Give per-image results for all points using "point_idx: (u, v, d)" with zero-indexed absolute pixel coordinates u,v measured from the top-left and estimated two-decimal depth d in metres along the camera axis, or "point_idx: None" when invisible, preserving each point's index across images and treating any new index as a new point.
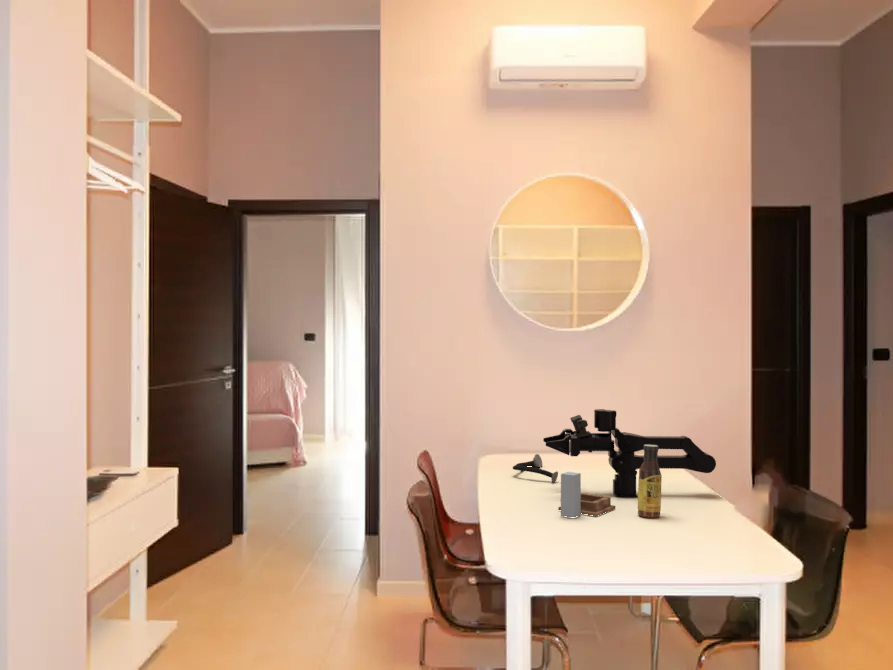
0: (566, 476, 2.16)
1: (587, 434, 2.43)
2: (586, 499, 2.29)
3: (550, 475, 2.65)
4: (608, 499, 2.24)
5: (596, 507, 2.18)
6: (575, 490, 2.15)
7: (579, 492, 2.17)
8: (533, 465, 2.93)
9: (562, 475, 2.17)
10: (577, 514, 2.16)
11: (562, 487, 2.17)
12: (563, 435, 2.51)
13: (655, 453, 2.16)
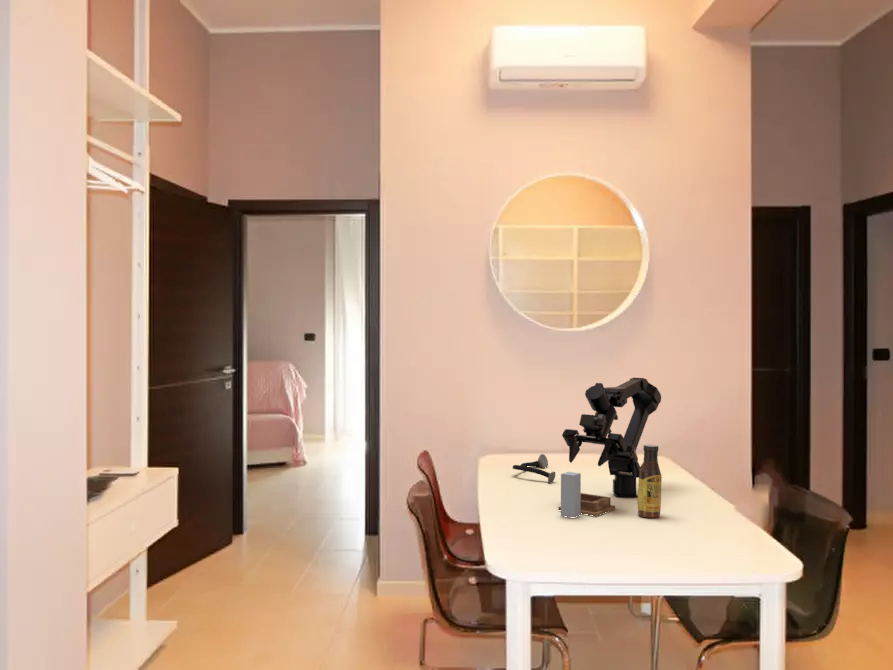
0: (566, 476, 2.16)
1: None
2: (586, 499, 2.29)
3: (547, 475, 2.64)
4: (608, 499, 2.24)
5: (596, 507, 2.18)
6: (575, 490, 2.15)
7: (579, 492, 2.17)
8: (538, 465, 2.93)
9: (562, 475, 2.16)
10: (577, 514, 2.16)
11: (562, 487, 2.16)
12: (574, 441, 2.29)
13: (655, 453, 2.16)
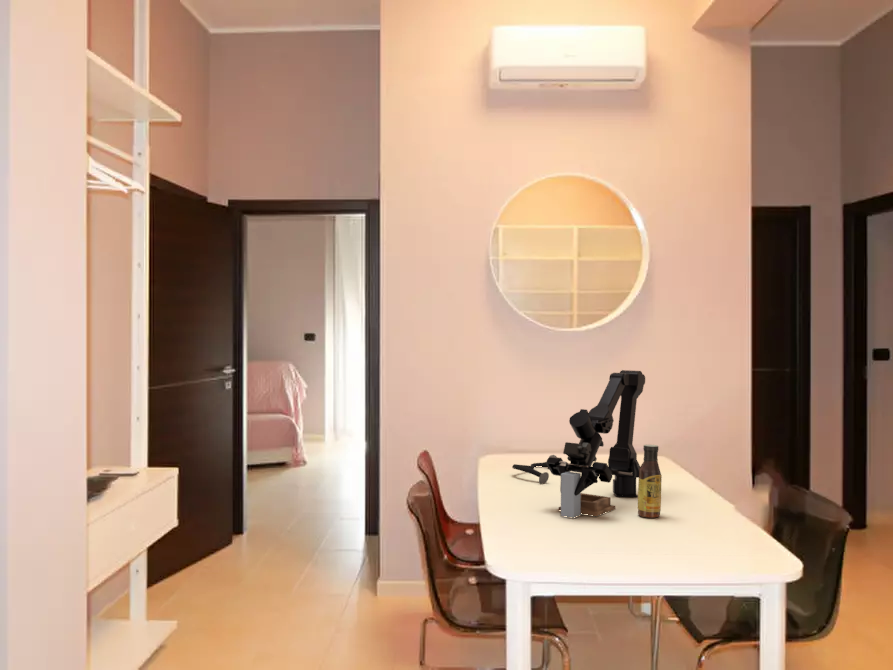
0: (566, 476, 2.16)
1: None
2: (586, 499, 2.29)
3: (539, 475, 2.63)
4: (608, 499, 2.24)
5: (596, 507, 2.18)
6: None
7: None
8: None
9: (562, 475, 2.16)
10: (577, 514, 2.16)
11: (562, 487, 2.16)
12: (566, 470, 2.20)
13: (655, 453, 2.16)
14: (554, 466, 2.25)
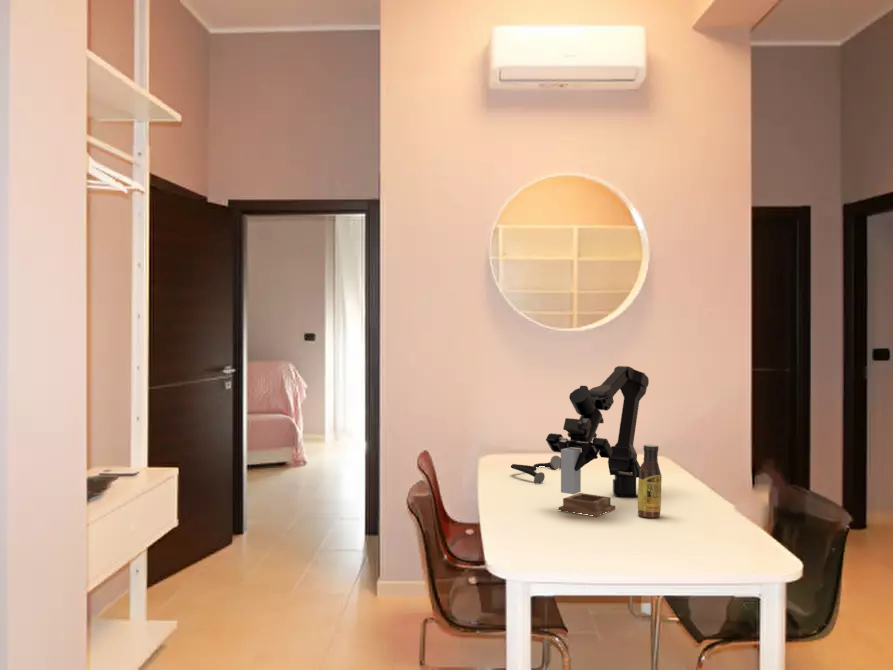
0: (566, 452, 2.16)
1: None
2: (586, 499, 2.29)
3: (535, 475, 2.63)
4: (608, 499, 2.24)
5: (596, 507, 2.18)
6: None
7: None
8: (551, 466, 2.90)
9: (562, 451, 2.16)
10: (577, 490, 2.16)
11: (562, 463, 2.16)
12: (566, 446, 2.20)
13: (655, 453, 2.16)
14: (554, 443, 2.25)
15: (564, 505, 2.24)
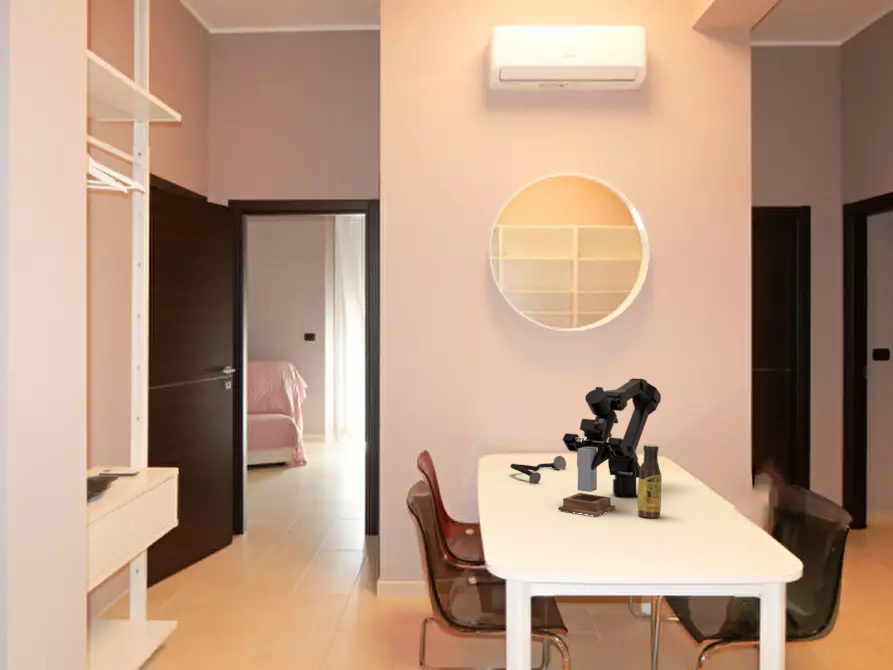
0: (583, 451, 2.23)
1: None
2: (586, 499, 2.29)
3: (531, 475, 2.64)
4: (608, 499, 2.24)
5: (596, 507, 2.18)
6: None
7: None
8: (554, 466, 2.90)
9: (579, 450, 2.24)
10: (593, 488, 2.24)
11: (579, 462, 2.24)
12: (582, 446, 2.28)
13: (655, 453, 2.16)
14: (570, 442, 2.32)
15: (564, 505, 2.24)
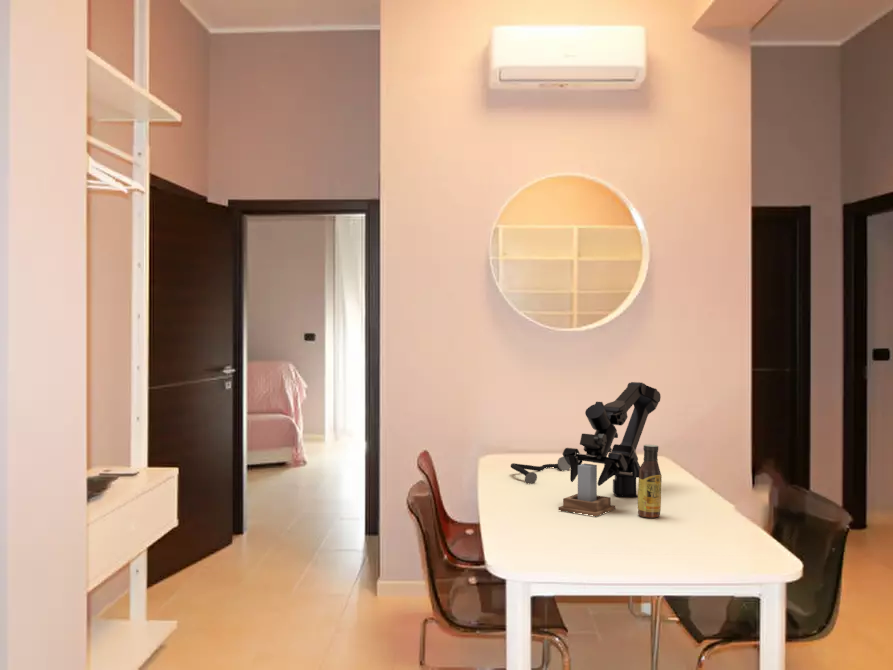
0: (583, 467, 2.23)
1: None
2: None
3: None
4: (608, 499, 2.24)
5: (596, 507, 2.18)
6: (592, 481, 2.23)
7: (595, 483, 2.24)
8: (559, 467, 2.88)
9: (579, 467, 2.24)
10: None
11: (579, 478, 2.24)
12: (576, 460, 2.29)
13: (655, 453, 2.16)
14: None
15: (564, 505, 2.24)
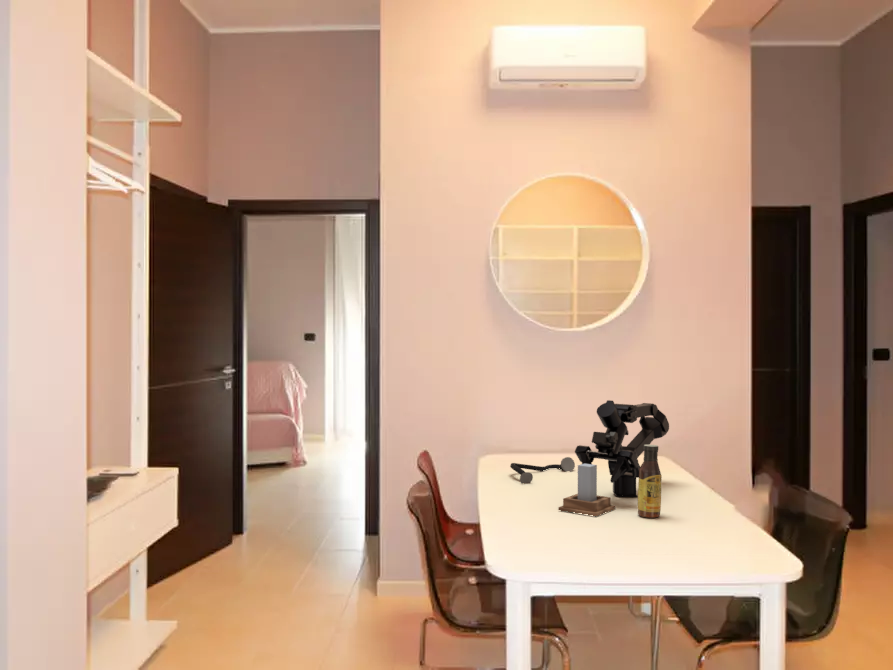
0: (583, 467, 2.23)
1: None
2: None
3: None
4: (608, 499, 2.24)
5: (596, 507, 2.18)
6: (592, 481, 2.23)
7: (595, 483, 2.24)
8: None
9: (579, 467, 2.24)
10: None
11: (579, 478, 2.24)
12: (587, 457, 2.36)
13: (655, 453, 2.16)
14: None
15: (564, 505, 2.24)
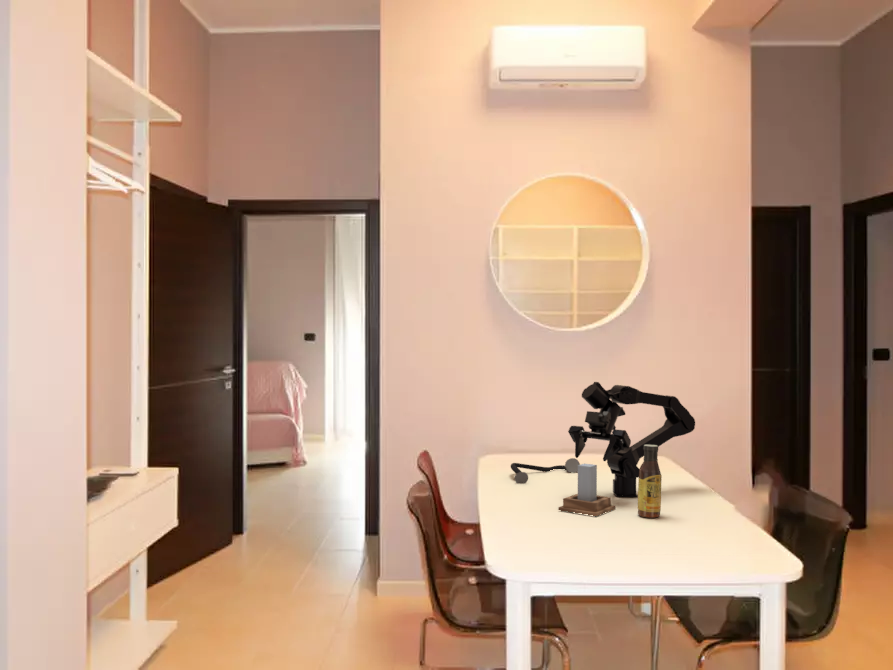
0: (583, 467, 2.23)
1: None
2: None
3: None
4: (608, 499, 2.24)
5: (596, 507, 2.18)
6: (592, 481, 2.23)
7: (595, 483, 2.24)
8: None
9: (579, 467, 2.24)
10: None
11: (579, 478, 2.24)
12: (580, 437, 2.38)
13: (655, 453, 2.16)
14: None
15: (564, 505, 2.24)
